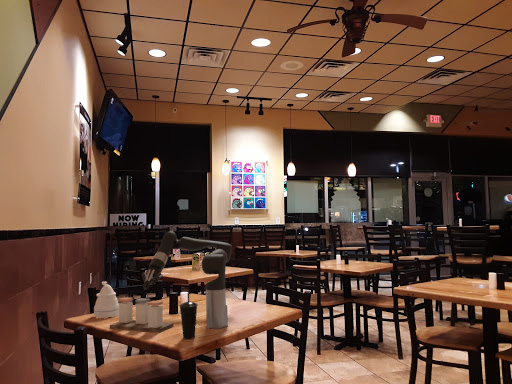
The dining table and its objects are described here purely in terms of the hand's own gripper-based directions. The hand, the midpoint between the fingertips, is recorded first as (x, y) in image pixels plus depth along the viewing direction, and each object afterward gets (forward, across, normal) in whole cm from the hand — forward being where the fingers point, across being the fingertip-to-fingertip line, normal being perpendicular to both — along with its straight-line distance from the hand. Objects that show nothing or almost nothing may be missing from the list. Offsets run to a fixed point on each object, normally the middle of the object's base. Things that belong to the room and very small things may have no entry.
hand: (144, 288), depth 213 cm
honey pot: (+11, +25, -11) cm, 29 cm away
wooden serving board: (+22, -10, +1) cm, 24 cm away
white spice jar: (+20, 0, +1) cm, 20 cm away
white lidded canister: (+23, -20, +4) cm, 31 cm away
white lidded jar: (+20, -10, +1) cm, 23 cm away
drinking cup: (+28, -41, +7) cm, 51 cm away
